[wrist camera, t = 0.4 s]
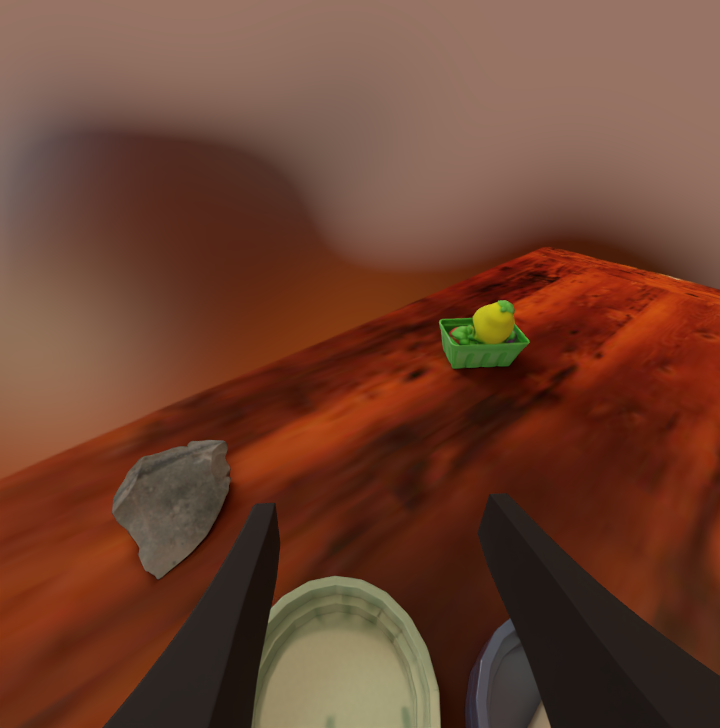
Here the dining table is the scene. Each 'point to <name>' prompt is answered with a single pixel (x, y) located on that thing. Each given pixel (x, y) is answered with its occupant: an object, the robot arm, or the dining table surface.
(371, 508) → the dining table surface
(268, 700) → the sage bowl
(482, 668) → the slate bowl
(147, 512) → the stone
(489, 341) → the fruit basket
